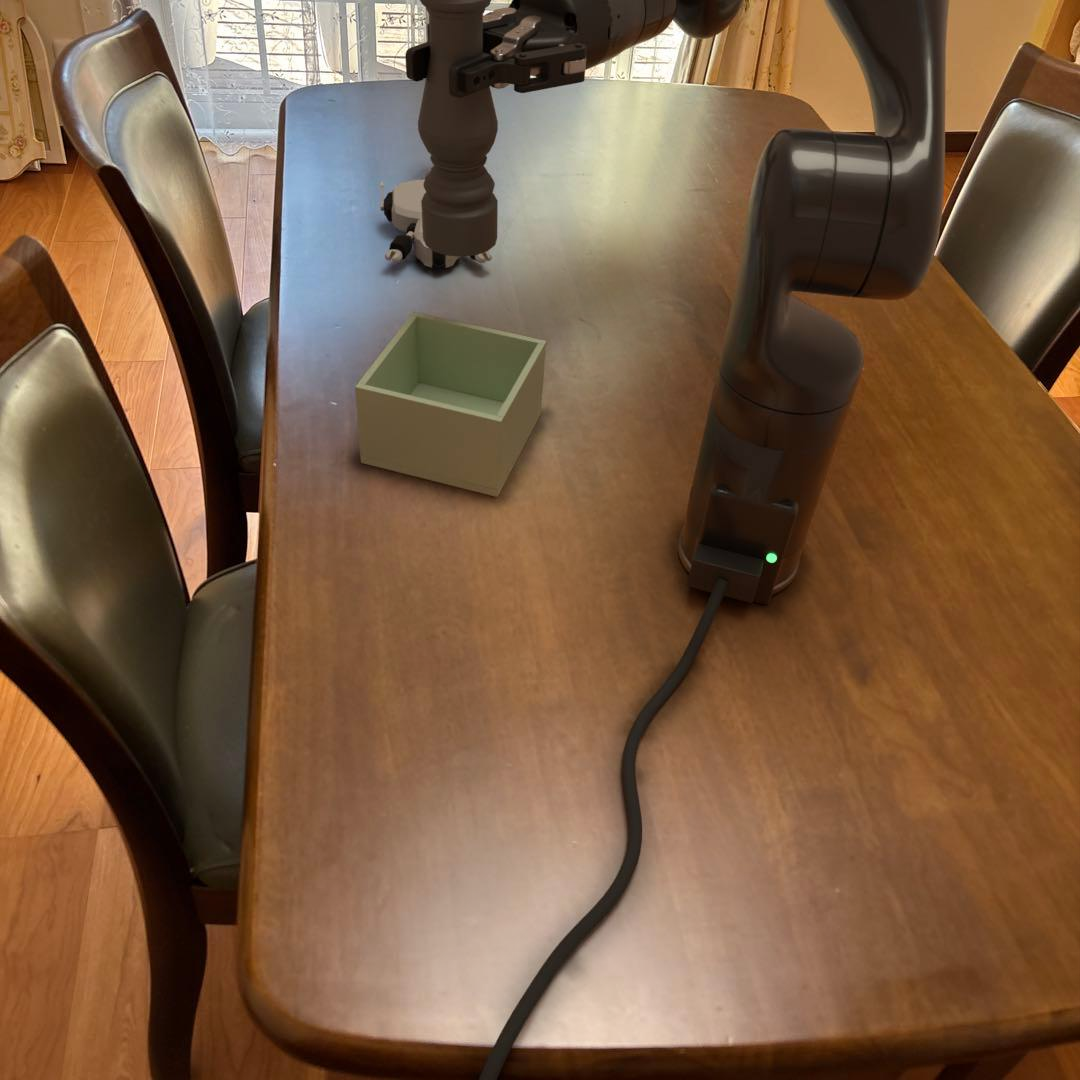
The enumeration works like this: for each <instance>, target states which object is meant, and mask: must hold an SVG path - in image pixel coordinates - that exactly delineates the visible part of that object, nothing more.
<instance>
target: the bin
mask: <svg viewBox="0 0 1080 1080" xmlns="http://www.w3.org/2000/svg"><path fill="white" fill-rule="evenodd" d="M546 352H547V340H544V339H539V338H534V337H530V336H525V335H521V334H517V333H512V332H508V331H503V330H500V329H499V330H498V329H495V328H494V329H493V328H489V327H485V326H480V325H476V324H471V323H467V322H463V321H458V320H454V319H449V318H445V317H440V316H436V315H431V314H427V313H422V312H418V311H412V313H411V314H410V315H409V316H408V318H407V319H406V321H404V323H403V324H402V326H401V327H400V328H399V329H398V330H397V332H396V333H395V335H394V336H393V337H392V339H391V340H390V341H389V342H388V344H386V346H385V347H384V348H383V349H382V351H381V352H380V354H379V355H378V357H377V358H376V359H375V360H374V362H373V363H372V365H370V367H369V368H368V369H367V370H366V372H365V373H364V374H363V376H362V377H361V378H360V380H359V381H358V382H357V384H356V385H355V386H354V387H355V388H354V389H355V401H356V402H355V403H356V415H357V428H358V441H359V454H360V463H361V464H364V465H368V466H372V467H376V468H380V469H384V470H388V471H392V472H396V473H400V474H403V475H406V476H412V477H416V478H420V479H423V480H428V481H432V482H436V483H440V484H443V485H448V486H452V487H456V488H459V489H463V490H466V491H470V492H471V491H472V492H475V493H480V494H483V495H487V496H492V497H495V498H498V497H499V496H500V494H501V492H502V490H503V488H504V486H505V484H506V482H507V480H508V478H509V476H510V474H511V472H512V470H513V469H514V467H515V465H516V463H517V461H518V459H519V457H520V456H521V453H522V451H523V450H524V447H525V446H526V444H527V442H528V440H529V438H530V436H531V434H532V433H533V430H534V428H535V426H536V425H537V423H538V421H539V418H540V417H541V414H542V403H543V391H544V378H545V365H546Z"/></svg>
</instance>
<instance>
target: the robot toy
mask: <svg viewBox="0 0 1080 1080" xmlns="http://www.w3.org/2000/svg"><path fill="white" fill-rule="evenodd" d="M424 181H425V179H415V180H409V181H408V180H407V181H403V182H401V183H399V184H397V185H396V186H393V189H392V191H390V192H387V194H386V196H385V198H384V182H383V181H380V205H379V206H380V211H381V212H383V215H384V217H385V218H386V219H387V221H388V222H390V223H392V224H393V226H394V228H395V229H397V230H399V231H401V232H403V233H404V234H400V235H399V234H398V235H396V236H395V238H394V239H393V240H392V241H391V242H390V243H389V249H387V251H386V252H385V255H384V259H385V260H386V261H388V262H390V261H391V262H392V263H396V264H397V263H399V262H401V261H404V260H406V258H408V256H409V254H410V253H412V248H413V249H414V250H413V251H414V253H413V254H414V255H415V257H416V258H417V259H418V260H420V262H421V263H422V264H423V265H424V266H426V267H429V268H433V266H435V267H443V266H445V268H449V267H452V266H454V264H455V263H456V261H457V260H458V259H460V258H461V257H458V256H447V255H444V254H440V253H437V252H434V251H433V250H431V249H430V248H429V247H427V246H426V244H425V242H424V240H423V228H422V207H421V201H422V198H423V196H424V194H425V193H426V191H425V189H424ZM468 257H469V258H470V259H471V260H472V261H476V262H477V263H479V264H483V263H486V262H491V261H492V259H493V256H492V254H491V252H490V251H486V252H484V253H481V254H478V255H473V256H468Z"/></svg>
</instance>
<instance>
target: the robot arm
mask: <svg viewBox="0 0 1080 1080" xmlns="http://www.w3.org/2000/svg"><path fill="white" fill-rule="evenodd" d="M822 1H823V3H824V5H825V6H826V8H827V10H828V12H829V13H830V15H831V17H832V18H833V20H834V22H835V24H836V25H837V27H838V29H839V30H840V32H841V34H842V36H843V37H844V39H845V40H846V42H847V44H848V46H849V47H850V49H851V51H852V53H853V55H854V57H855V59H856V61H857V63H858V65H859V67H860V70H861V72H862V75H863V78H864V82H865V84H866V88H867V91H868V95H869V99H870V105H871V111H872V117H873V126H874V127H873V128H874V134H868V133H859V132H848V131H838V130H829V129H819V128H808V127H785V128H782V129H780V130H778V131H777V132H775V133H774V134H773V135H772V137H771V138H770V139H769V140H768V142H767V143H766V145H765V147H764V148H763V150H762V153H761V155H760V157H759V160H758V162H757V166H756V169H755V174H754V177H753V180H752V185H751V191H750V196H749V201H748V207H747V211H746V212H747V214H746V220H745V225H744V226H745V227H744V233H743V239H742V240H743V241H742V247H741V253H740V259H739V266H738V270H737V277H736V282H735V288H734V292H733V296H732V302H731V307H730V310H729V311H730V312H729V317H728V321H727V325H726V331H725V335H724V340H723V345H722V349H721V352H720V357H719V362H718V365H717V366H718V367H717V370H716V375H715V380H714V385H713V389H712V394H711V397H710V401H709V407H708V411H707V417H706V420H705V424H704V430H703V433H702V439H701V443H700V448H699V452H698V456H697V462H696V466H695V470H694V475H693V480H692V485H691V487H690V491H689V498H688V503H687V507H686V512H685V516H684V517H685V518H684V521H683V527H682V528H681V531H680V535H679V539H678V544H677V553H678V556H679V561H680V562H681V564H682V565H683V567H684V569H685V570H686V571H687V573H688V578H687V583H686V587H688V588H693V589H696V590H700V591H702V592H707V593H711V594H710V596H709V598H708V600H707V603H706V605H705V608H704V610H703V612H702V615H701V617H700V619H699V621H698V624H697V625H696V628H695V630H694V632H693V634H692V636H691V638H690V639H689V640H690V641H689V643H688V644H687V645H686V648H685V650H684V652H683V654H682V656H681V657H680V660H679V661H678V662H677V664H676V666H675V668H674V669H673V670H672V672H671V673H670V675H669V676H668V677H667V678H666V680H665V681H664V682H663V684H662V685H661V686H660V688H658V690H657V691H656V692H655V694H653V695H652V697H651V698H650V699H649V700H648V701H647V702H646V704H645V705H644V706H643V707H642V709H641V710H640V711H639V713H638V715H637V717H636V718H635V720H634V721H633V723H632V725H631V727H630V730H629V733H628V735H627V738H626V740H625V746H624V748H623V753H622V761H621V777H622V789H623V797H624V802H625V803H624V804H625V809H626V819H627V841H626V842H627V843H626V850H625V853H624V857H623V860H622V862H621V865H620V868H619V870H618V872H617V874H616V876H615V878H614V879H613V881H612V883H611V885H610V886H609V887H608V889H607V890H606V891H605V893H604V894H603V895H602V897H601V898H600V899H599V900H598V901H597V903H596V904H595V905H594V906H593V907H592V908H591V909H590V910H589V911H588V912H587V913H586V914H585V915H584V916H583V917H582V918H581V919H580V920H579V921H578V922H577V923H576V924H575V925H574V926H573V928H571V929H570V930H569V932H568V933H567V934H566V935H565V936H564V937H563V938H562V939H561V940H560V942H559V943H558V944H557V945H556V947H555V948H554V949H553V950H552V951H551V952H550V954H549V956H548V957H547V959H546V960H545V961H544V963H543V964H542V966H541V967H540V969H539V970H538V972H537V973H536V974H535V976H534V978H533V979H532V980H531V982H530V983H529V985H528V987H527V989H526V990H525V991H524V993H523V994H522V995H521V996H522V997H521V998H520V999H519V1000H518V1002H517V1004H516V1005H515V1007H514V1009H513V1010H512V1012H511V1014H510V1016H509V1018H508V1019H507V1021H506V1023H505V1025H504V1026H503V1027H502V1030H501V1032H500V1033H499V1035H498V1037H497V1039H496V1041H495V1043H494V1045H493V1047H492V1048H491V1051H490V1053H489V1055H488V1058H487V1059H486V1062H485V1064H484V1066H483V1068H482V1071H481V1073H480V1075H479V1077H478V1080H498V1077H499V1076H500V1073H501V1070H502V1069H503V1066H504V1064H505V1062H506V1060H507V1058H508V1057H509V1054H510V1052H511V1050H512V1048H513V1046H514V1045H515V1042H516V1040H517V1039H518V1038H519V1037H518V1036H519V1035H520V1033H521V1031H522V1030H523V1028H524V1026H525V1024H526V1022H527V1021H528V1019H529V1018H530V1016H531V1014H532V1012H533V1011H534V1009H535V1008H536V1006H537V1005H538V1003H539V1001H540V999H541V998H542V996H543V995H544V993H545V992H546V990H547V988H549V986H550V985H551V982H552V981H553V979H554V978H555V977H556V975H557V973H558V972H559V971H560V969H561V968H562V966H563V965H564V964H565V962H566V961H567V959H568V958H569V957H570V956H571V955H572V954H573V952H574V951H576V950H577V948H578V947H579V946H580V944H581V943H582V942H583V941H584V940H585V939H586V938H587V937H588V936H589V935H590V934H591V933H592V932H593V931H594V930H595V929H596V928H597V927H598V925H599V924H600V923H601V922H602V921H603V920H604V919H605V918H606V917H607V916H608V915H609V913H610V912H611V911H612V910H613V909H614V908H615V906H616V905H617V904H618V902H619V901H620V899H621V898H622V896H623V895H624V893H625V891H626V889H627V888H628V886H629V885H630V882H631V880H632V878H633V876H634V873H635V871H636V868H637V866H638V863H639V858H640V855H641V850H642V843H643V821H642V820H643V818H642V812H641V811H642V810H641V804H640V798H639V791H638V785H637V776H636V763H637V753H638V750H639V745H640V742H641V739H642V736H643V734H644V732H645V730H646V728H647V726H648V725H649V723H650V722H651V720H652V719H653V717H654V716H655V714H656V713H657V712H658V711H659V709H660V708H661V707H662V706H663V705H664V703H666V701H667V700H668V699H669V698H670V696H672V695H673V693H674V692H675V690H676V689H677V688H678V686H679V685H680V684H681V682H682V681H683V679H684V678H685V676H686V674H687V673H688V672H689V670H690V668H691V667H692V664H693V662H694V661H695V659H696V657H697V656H698V654H699V652H700V649H701V647H702V645H703V643H704V641H705V640H706V637H707V635H708V633H709V630H710V628H711V627H712V625H713V622H714V619H715V617H716V615H717V612H718V610H719V607H720V605H721V603H722V600H723V597H727V598H731V599H735V600H739V601H742V602H746V603H751V604H752V603H753V602H754V603H757V604H762V605H769V604H770V602H771V598H772V596H773V595H775V594H777V593H780V592H781V591H783V590H784V589H786V588H787V587H788V586H789V585H790V584H791V583H792V582H793V580H794V579H795V577H796V575H797V571H798V569H799V567H800V566H799V565H800V561H801V556H802V552H803V551H804V550H803V549H804V547H805V544H806V540H807V537H808V534H809V531H810V528H811V525H812V522H813V519H814V516H815V513H816V510H817V506H818V503H819V501H820V497H821V494H822V492H823V489H824V486H825V483H826V479H827V477H828V473H829V471H830V468H831V464H832V462H833V459H834V455H835V452H836V450H837V446H838V444H839V441H840V437H841V434H842V432H843V429H844V426H845V423H846V420H847V417H848V414H849V411H850V408H851V405H852V402H853V399H854V396H855V394H856V391H857V388H858V387H859V386H858V385H859V382H860V379H861V376H862V373H863V369H864V366H865V355H864V350H863V347H862V344H861V342H860V340H859V339H858V337H857V336H856V334H855V333H854V332H853V331H852V330H851V329H850V328H849V327H848V326H847V325H845V324H844V323H843V322H842V321H841V320H840V319H837V318H836V317H834V316H833V315H831V314H829V313H827V312H825V311H823V310H822V309H819V308H817V307H815V306H814V305H811V304H810V303H808V302H806V301H804V300H803V299H801V298H800V297H799V296H798V295H796V294H795V293H794V292H798V293H806V294H817V295H826V296H833V297H834V296H835V297H842V298H843V297H845V298H852V299H853V298H854V299H862V300H863V299H864V300H865V299H866V300H876V301H898V300H902V299H905V298H907V297H910V296H911V295H912V294H913V293H914V292H916V291H917V290H918V289H919V287H920V286H921V285H922V283H923V282H924V280H925V277H926V276H927V274H928V272H929V270H930V267H931V265H932V263H933V259H934V255H935V252H936V249H937V245H938V240H939V236H940V229H941V224H942V217H943V207H944V196H945V195H944V194H945V174H946V173H945V169H946V69H947V68H946V66H947V65H946V63H947V62H946V61H947V60H946V59H947V52H946V51H947V33H948V17H949V8H950V7H949V6H950V0H822ZM744 2H745V0H512V1H511V2H510V4H509V6H508V7H502V8H496V9H494V10H493V11H490V12H487V13H485V14H483V53H481V54H478V55H476V56H473V57H470V58H468V59H465V60H462V61H460V62H457V63H454V64H452V65H451V66H450V68H449V93H450V94H451V95H452V96H455V97H457V98H462V97H465V96H467V95H469V94H472V93H474V92H477V91H479V90H482V89H484V88H487V87H489V86H490V88H493V89H496V90H500V89H505V88H507V87H508V86H510V85H513V91H514V92H515V93H519V94H525V93H532V92H537V91H543V90H547V89H552V88H558V87H563V86H568V85H574V84H575V85H576V84H579V83H583V82H585V80H586V79H585V78H586V71H587V70H589V69H592V68H594V67H596V66H599V65H602V64H604V63H606V62H608V61H610V60H613V59H614V58H616V57H617V56H619V55H620V54H621V53H623V52H625V51H626V50H628V49H630V48H633V47H635V46H637V45H640V44H643V43H646V42H648V41H649V40H652V39H654V38H656V37H657V36H659V35H661V34H662V33H663V32H665V31H666V30H667V29H668V28H669V26H670V25H671V23H672V22H674V23H675V25H676V26H677V27H678V28H679V29H680V30H681V31H682V32H683V33H684V34H686V35H687V36H688V37H690V38H692V39H695V40H706V39H711V38H713V37H716V36H717V35H719V34H720V33H723V31H725V30H726V29H727V28H728V27H729V26H730V25H731V24H732V23H733V22H734V20H735V19H736V17H737V15H738V14H739V12H740V10H741V9H742V7H743V5H744ZM426 32H427V33H426V34H427V41H426V42H423V43H420V44H417V45H414V46H411V47H409V48H407V50H406V52H405V55H404V56H405V57H404V58H405V73H406V74H405V75H406V77H407V79H408V80H411V81H413V82H421V81H423V80H426V76H427V70H428V65H429V59H430V32H429V23H427V24H426ZM531 76H532V77H531Z"/></svg>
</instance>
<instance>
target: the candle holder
mask: <svg viewBox="0 0 1080 1080" xmlns="http://www.w3.org/2000/svg"><path fill="white" fill-rule="evenodd" d="M419 1H420V3H421V4H422V5H423V7H425V10H426V11H427V13H428V24H429V32H430V59H429V65H428V70H427V76H426V79H425V81H424V88H423V94H422V98H421V103H420V110H419V115H418V120H417V131H418V134H419V138H420V140H421V142H422V143H423V146H424V147H425V149H426V151H427V152H428V154H430V157H429V159H430V161H431V163H432V165H433V166H432V167H431V168H430V170H429V173H427V174H426V176H425V179H424V180H425V181H424V189H425V191H426V193H425V194H424V196H423V198H422V201H421V207H422V228H423V240H424V242H425V244H426V246H427V247H429V248H430V249H431V250H433V251H434V252H437V253H440V254H444V255H447V256H458V257H460V258H463V257H469V256H473V255H478V254H481V253H484V252H486V251H489V250H491V249H492V248H494V247H495V246H496V244H497V241H498V214H499V213H498V210H499V206H498V205H499V203H498V202H499V201H498V199H497V197H496V195H495V193H494V189H495V187H496V183H495V181H494V179H493V177H492V176H491V174H490V172H488V171H489V170H487V168H486V166H485V165H486V163H487V160H488V156H487V155H488V154H489V153H490V151H491V150H492V148H493V146H494V144H495V142H496V138H497V134H498V131H499V121H498V117H497V112H496V108H495V104H494V103H495V102H494V99H493V95H492V90H491V86H489V87H487V88H484V89H482V90H479V91H477V92H474V93H472V94H469V95H467V96H465V97H462V98H457V97H455V96H452V95H451V94H450V93H449V68H450V66H451V65H452V64H454V63H457V62H460V61H462V60H465V59H468V58H470V57H473V56H476V55H478V54H481V53H483V15H484V14H485V11H486V8H488V7H489V6H490V4H491V2H492V0H419ZM489 252H490V251H489Z"/></svg>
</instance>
